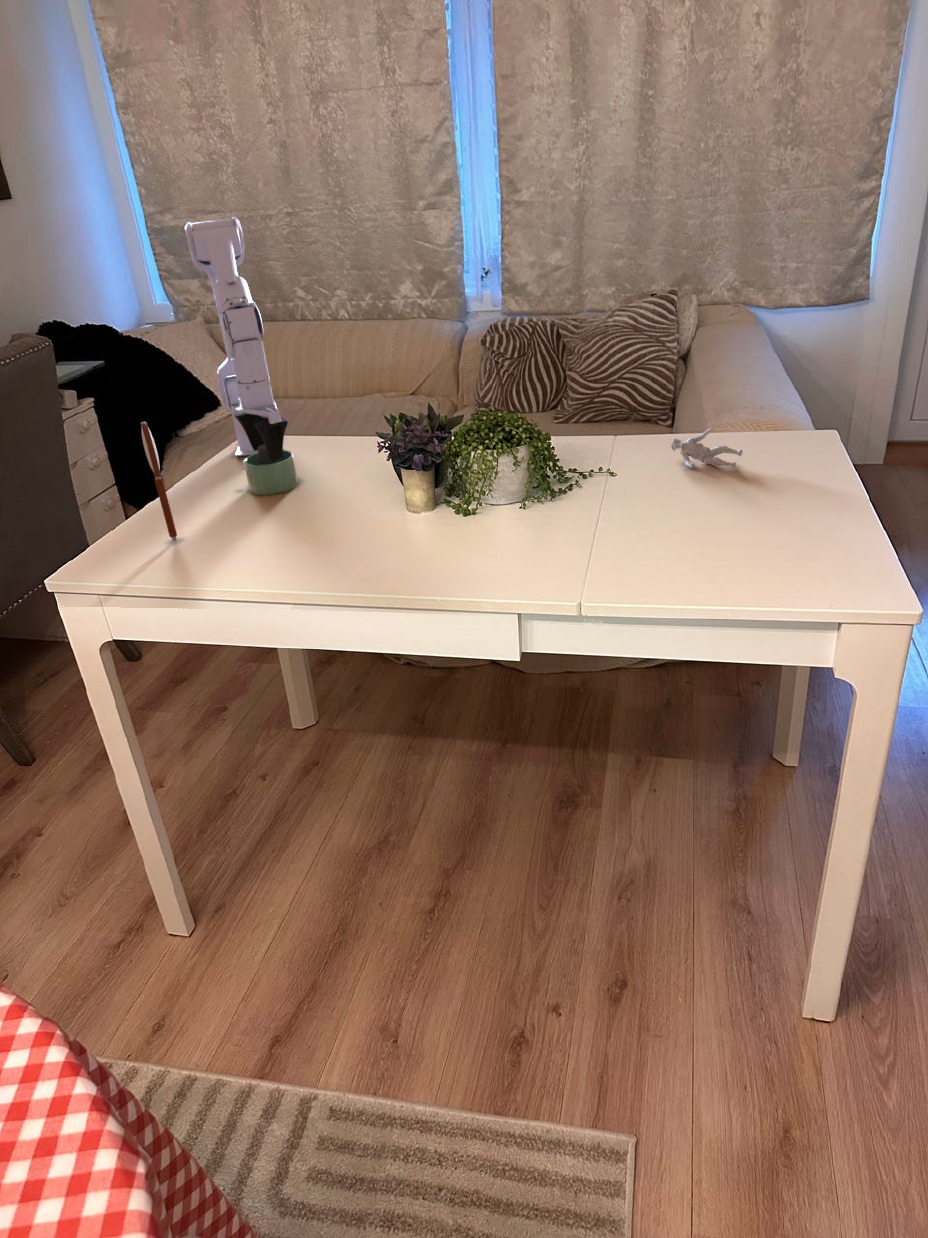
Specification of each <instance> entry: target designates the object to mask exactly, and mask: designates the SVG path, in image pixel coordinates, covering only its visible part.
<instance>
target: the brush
mask: <svg viewBox="0 0 928 1238" xmlns="http://www.w3.org/2000/svg"><path fill="white" fill-rule="evenodd" d="M257 450H258V455H259V459H260V463H261V464H262V465H270V464H275V463H277V461H278V459H276V460H270V458H269V456H268V453H267V451H266V447H265V444H263V445H260V446H258V447H257Z"/></svg>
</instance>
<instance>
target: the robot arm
mask: <svg viewBox="0 0 928 1238" xmlns="http://www.w3.org/2000/svg"><path fill="white" fill-rule="evenodd" d="M231 217H232V216H231ZM184 231H185V236H186V241H187V245H188V249H189V254H190V257H191V261H192V264H193V265H194V268H195V269H196V270H198V271H202V272H205V274H206V275H207V278H208V279H209V281H210V284H211V289H212V293H213V298H214V303H215V307H216V312H217V316H218V321H219V325H220V330H221V334H222V340H223V344H224V347H225V353H226V359H225V360H224V361H223V362H222V363H221V364H220V366H219V367H218V368H217V372H216V378H217V385H218V390H219V394H220V398H221V403H222V405H223V408H225V409H226V410H230V413H231V417H232V421H233V426H234V430H235V431H234V432H235V436H236V440H237V445H238V446H237V449H236V451H235V452H234V455H235V457H245V456H250V455H252V454H255V453H258V450H257V447H258V446H260V445H263V444H265V447H266V451H267V453H268V456H269V458H270V460H276V459H280V458H282V454H283V450H284V438H285V433H286V429H287V427H288V424H289V422H288V421H289V420H288V419H287V418H285V417H282V415H281V411H280V410H279V409H278V408H277V403H276V401H275V400H274V396H273V389H272V385H271V378H270V373H269V369H268V368H269V367H268V363H267V358H266V353H265V347H264V342H263V341H264V340H265V331H264V325H263V321H262V320H263V319H262V316H261V312H260V310H259V308H258V306H257V304H256V302H255V301H253V299H252V296H251V292H250V289H249V286H248V283H247V281H246V280H245V279H244V278H243V277H241V276H240V275H239V274H238V270H237V267H238V266H240V265H241V264H243V263H244V258H245V249H246V247H245V245H246V244H245V239H244V233H243V229H242V225H241V221H240V220H239V219H238V218H237V217H236V216H233V217H232V218H224V219H222V218H221V219H214V220H206V221H198V222H186V225H185V226H184Z"/></svg>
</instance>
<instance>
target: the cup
mask: <svg viewBox="0 0 928 1238" xmlns="http://www.w3.org/2000/svg"><path fill="white" fill-rule="evenodd" d="M295 462H296V461H295V456H294V453H293V452H292V451H290V450H287V449H283V454H282V458H280V459H278V461H277V463H275V464H270V465H262V464H261V463H260V459H259V455H258V453H255V454H252V455H247V457H246V458H244V460H243V465H244V470H245V475H246V480H247V483H248V488H249V492H251V493H253V494H255V495H258V496H259V495H260V496H270V495H277V494H282V493H285V492H288V491H290V490H292V489H295V488H296V487H297V486H298V484H299V481H298V473H297V467H296V463H295Z"/></svg>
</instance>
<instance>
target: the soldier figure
mask: <svg viewBox="0 0 928 1238" xmlns="http://www.w3.org/2000/svg"><path fill="white" fill-rule="evenodd" d="M713 430H714V429H713V428H708V429H706V430H705V431H704V432H703V433H700V434H699V435H698V436H695V437H691V438H688V439H687V440H686V441H684V442H682V440H680V439H678V438H673V440H672V442H671V445H670V446H671V450H672V451H673V452H674V453H675V451H676V450H679V449H681V450H680V455H681V457H682V459H683V461H684V463H685V465H686V466H687V467H689V468H691V469H694V467H695V463H693V462H692V461H691V459H690V457H691V458H692V459H693V460H697V461H700V462H701V463H703V464H707V465H714V466H718V467H721V466H723V467H731V468H734V469H735V468H736V467H737V462H734V461H733V462H729V461H726V460H723V459H721V458H720V457H717V456H718V455H722V454H730V455H731V454H732V455H737V456H738V457H742V455H743V452H744V450H743V449H740V450H737V449H733V448H731V447H729V446H727V445H719V446H716V447H715V446H714V447H712V448H711V449H710V447H707V446H705V445H704V444H703V443H701V441H703V440H704V439H705V438H706V436H708V434H710V431H713Z"/></svg>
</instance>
